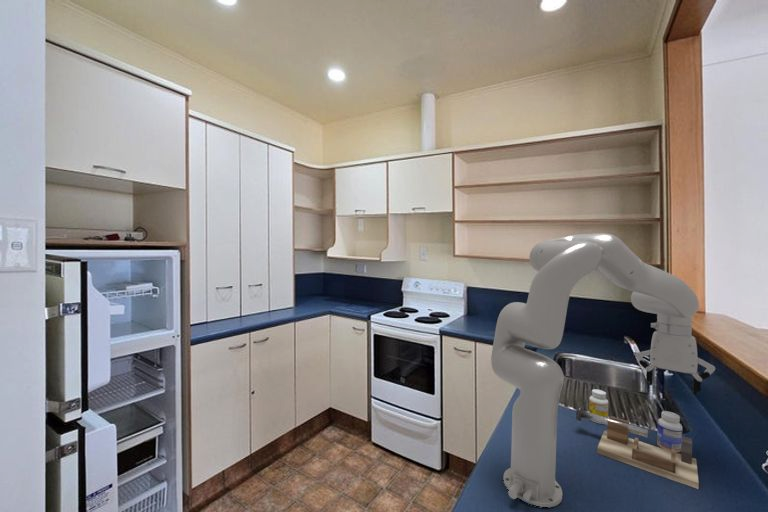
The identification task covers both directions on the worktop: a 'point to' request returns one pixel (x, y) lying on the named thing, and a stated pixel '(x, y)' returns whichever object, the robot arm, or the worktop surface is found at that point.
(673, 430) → the pill bottle
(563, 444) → the worktop surface
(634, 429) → the steel shaft
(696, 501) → the worktop surface
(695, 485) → the shaft bracket
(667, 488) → the worktop surface
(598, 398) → the supplement bottle
